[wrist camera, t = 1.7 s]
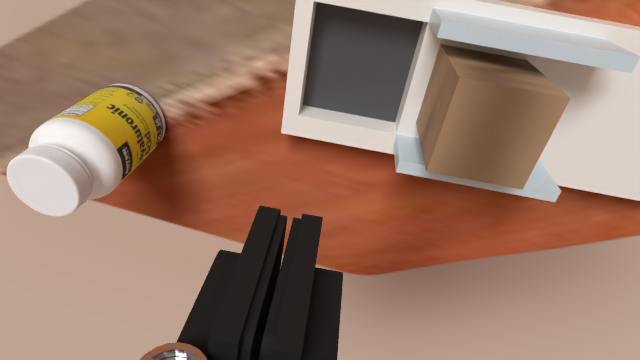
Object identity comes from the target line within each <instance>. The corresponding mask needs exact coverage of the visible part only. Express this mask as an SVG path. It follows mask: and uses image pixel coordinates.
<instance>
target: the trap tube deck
mask: <svg viewBox="0 0 640 360" xmlns="http://www.w3.org/2000/svg"><path fill="white" fill-rule="evenodd" d="M440 44H444V45H449V46H455V47H460V48H465V49H471V50H476V51H481V52H487V53H492V54H497V55H503V56H508V57H514V58H519V59H524V60H528V61H529V62H530V63H531V64H532V65H533V66H534V67H536V68H537V69H538V70H539V71H540V72H541V73H542V74H544V75H545V76H546V77H547V78H548V79H549V80H550V81H552V82H553V83H554V84H555V85H556V86H557V87H558V88H560V89H561V90H562V91H563V92H564V93H565V94H566V95H568V96H569V97H570V98H571V99H570V101H569V103H568V105H567V106H566V108H565V110H564V112H563V114H562V116H561V118H560V120H559V122H558V124H557V125H556V127H555V129H554V131H553V133H552V135H551V137H550V139H549V141H548V143H547V144H546V146H545V148H544V150H543V152H542V154H541V156H540V158H539V160H538V162H537V163H536V165H535V167H534V169H533V171H532V173H531V175H530V177H529V179H528V181H527V182H526V184H525V186H524V188H523V190H521V189H516V188H511V187H505V186H500V185H495V184H490V183H484V182H479V181H474V180H468V179H463V178H458V177H453V176H447V175H442V174H437V173H431V172H426V168H425V163H424V158H423V154H422V149H421V145H420V140H419V136H418V131H417V126H416V121H417V117H418V114H419V111H420V108H421V105H422V101H423V98H424V95H425V92H426V89H427V85H428V82H429V79H430V76H431V73H432V69H433V66H434V63H435V60H436V57H437V53H438V50H439V47H440ZM281 133H284V134H289V135H294V136H299V137H305V138H310V139H315V140H321V141H326V142H331V143H336V144H342V145H347V146H352V147H358V148H363V149H368V150H373V151H379V152H384V153H389V154H394V158H395V168H396V172H398V173H404V174H409V175H414V176H420V177H425V178H430V179H435V180H441V181H446V182H451V183H456V184H462V185H467V186H472V187H478V188H483V189H488V190H493V191H499V192H504V193H509V194H514V195H520V196H525V197H530V198H536V199H541V200H546V201H551V202H555V201H556V200H557V198H558V196H559V195H560V193H561V190H560V188H559V187H558V186H564V187H569V188H574V189H579V190H585V191H590V192H595V193H601V194H606V195H611V196H616V197H622V198H627V199H632V200H637V201H640V27H638V26H632V25H627V24H622V23H616V22H611V21H605V20H600V19H595V18H589V17H584V16H578V15H573V14H568V13H562V12H557V11H551V10H546V9H541V8H535V7H530V6H524V5H519V4H514V3H508V2H503V1H497V0H296V4H295V13H294V22H293V31H292V40H291V49H290V58H289V67H288V76H287V85H286V94H285V103H284V112H283V121H282V130H281Z"/></svg>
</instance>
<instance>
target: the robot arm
mask: <svg viewBox="0 0 640 360" xmlns="http://www.w3.org/2000/svg"><path fill="white" fill-rule="evenodd" d="M280 212H281V210H280V209H276V208H270V207H265V206H259V208H258V211H257V214H256V216H255V219H254V221H253V224H252V226H251V229H250V232H249V234H248V237H247V239H246V242H245V244H244V247H243V250H242V252H241V253H235V252H230V251H225V250H220V251H219V252H218V254H217V256H216V258H215V260H214V262H213V264H212V266H211V268H210V271H209V273H208V275H207V277H206V280H205V282H204V284H203V286H202V288H201V290H200V292H199V295H198V297H197V299H196V301H195V303H194V305H193V308H192V310H191V312H190V314H189V316H188V318H187V321H186V323H185V325H184V327H183V330H182V331H181V334H180V336H179V338H178V340H177V342H176V343H167V344H164V345H161V346H158V347H156V348H154V349H152V350H151V351H149V352H148V353H146V354H145V355H144V356H143V357H142V358H141V359H140V360H337V352H338V339H339V325H340V309H341V296H342V282H343V272H338V271H333V270H326V269H322V268H316V267H315V265H316V258H317V252H318V245H319V239H320V232H321V226H322V219H323V217H319V216H313V215H308V214H302V218H301V219H299V218H293V222H292V226H291V229H290V233H289V237H288V241H287V245H286V249H285V253H284V257H283V261H282V265H281V260H282V253H283V246H284V239H285V231H286V224H287V216H283V215H280ZM280 267H281V269H280Z"/></svg>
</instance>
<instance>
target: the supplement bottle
mask: <svg viewBox="0 0 640 360" xmlns="http://www.w3.org/2000/svg"><path fill="white" fill-rule="evenodd" d="M164 133H165V120H164V116H163V113H162V111H161V109H160V108H159V106H158V104H157V103H156V102H155V101H154V100H153V98H152V97H151V96H149V95H148V94H147V93H146V92H144V91H143V90H141V89H139V88H137V87H135V86H132V85H127V84H113V85H109V86H107V87H105V88H102V89H100V90H99V91H97V92H95V93H94V94H92V95H90V96H89V97H87V98H85V99H83V100H82V101H80V102H79V103H77V104H75V105H73V106H72V107H70V108H68V109H67V110H65V111H63V112H62V113H60V114H58V115H57V116H55V117H53V118H51V119H50V120H48V121H47V122H45V123H44V124H42V125H41V126H40V127H38V128H37V129H36V130H35V132H34V133H33V135H32V136H31V138H30V142H29V149H27V150H25V151H24V152H23V153H21V154H20V155H18V156H17V157H15V158H14V159H13V160H12V161H11V162H10V163H9V165H8V168H7V179H8V182H9V185H10V186H11V188H12V190H13V191H14V193H15V194H16V196H17V197H18V198H19V199H20V200H22V201H23V202H24V203H25V204H26V205H28V206H29V207H31V208H32V209H34V210H36V211H38V212H40V213H43V214H46V215H50V216H65V215H69V214H71V213H72V212H74V211H75V210H76V209H77V208H79V207H80V206H81V205H82V204H83V203H85V202H86V201H87V200H91V199H97V198H100V197H103V196H105V195H107V194H109V193H110V192H112V191H113V190H114V189H115V188H116V187H117V186H118V185H119V184H120V183H121V182H122V181H123V180H124V179H125V178H126V177H127V176H128V175H129V174H130V173H131V172H132V171H133V170H134V169H135V168H136V167H137V166H138V165H139V164H140V163H141V162H142V161H143V160H144V159H145V158H146V157H147V156H148V155H149V154H150V153H151V152H152V151H153V150H154V149H155V148H156V147H157V146H158V144H159V143H160V142H161V140H162V139H163V136H164Z"/></svg>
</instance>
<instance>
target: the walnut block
mask: <svg viewBox="0 0 640 360" xmlns="http://www.w3.org/2000/svg"><path fill="white" fill-rule="evenodd" d="M570 99H571V98H570V97H569V96H568V95H566V94H565V93H564V92H563V91H562V90H561V89H560V88H558V87H557V86H556V85H555V84H554V83H553V82H552V81H550V80H549V79H548V78H547V77H546V76H545V75H544V74H542V73H541V72H540V71H539V70H538V69H537V68H536V67H534V66H533V65H532V64H531V63H530V62H529V61H528V60H524V59H519V58H514V57H508V56H503V55H497V54H492V53H487V52H481V51H476V50H471V49H465V48H460V47H455V46H449V45H444V44H440V47H439V50H438V53H437V57H436V60H435V63H434V66H433V69H432V73H431V76H430V79H429V82H428V85H427V89H426V92H425V95H424V98H423V101H422V105H421V108H420V111H419V114H418V117H417V121H416V126H417V131H418V136H419V140H420V145H421V149H422V154H423V158H424V163H425V168H426V172H431V173H437V174H442V175H447V176H453V177H458V178H463V179H468V180H474V181H479V182H484V183H490V184H495V185H500V186H505V187H511V188H516V189H521V190H523V188H524V186H525V184H526V182H527V181H528V179H529V177H530V175H531V173H532V171H533V169H534V167H535V165H536V163H537V162H538V160H539V158H540V156H541V154H542V152H543V150H544V148H545V146H546V144H547V143H548V141H549V139H550V137H551V135H552V133H553V131H554V129H555V127H556V125H557V124H558V122H559V120H560V118H561V116H562V114H563V112H564V110H565V108H566V106H567V105H568V103H569V101H570Z"/></svg>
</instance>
